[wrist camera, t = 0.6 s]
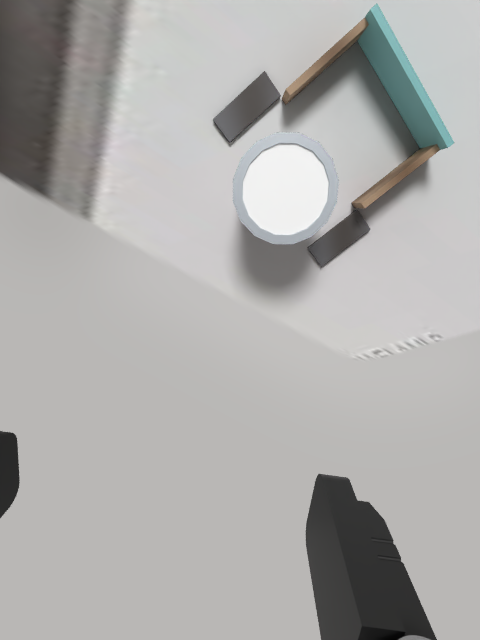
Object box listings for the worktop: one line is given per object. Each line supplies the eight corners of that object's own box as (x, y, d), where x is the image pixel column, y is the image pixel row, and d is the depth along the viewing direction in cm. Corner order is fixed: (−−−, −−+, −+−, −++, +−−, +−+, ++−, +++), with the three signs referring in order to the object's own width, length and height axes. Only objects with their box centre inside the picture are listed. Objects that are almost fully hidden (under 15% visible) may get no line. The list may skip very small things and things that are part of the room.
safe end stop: (423, 154, 28) (447, 147, 25) (353, 34, 25) (370, 9, 22) (428, 149, 28) (454, 142, 25) (359, 28, 25) (377, 3, 22)
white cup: (217, 204, 29) (211, 205, 23) (265, 128, 27) (274, 105, 21) (283, 251, 31) (295, 265, 24) (333, 181, 29) (361, 175, 22)
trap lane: (320, 265, 31) (327, 271, 29) (213, 120, 27) (210, 112, 25) (436, 177, 29) (454, 174, 26) (336, 5, 25) (346, -16, 23)
